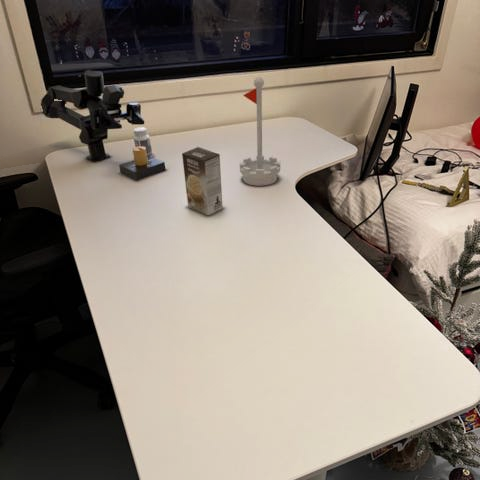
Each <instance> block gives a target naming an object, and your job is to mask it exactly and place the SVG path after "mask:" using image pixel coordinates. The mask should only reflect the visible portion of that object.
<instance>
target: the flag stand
mask: <svg viewBox="0 0 480 480" xmlns="http://www.w3.org/2000/svg"><path fill="white" fill-rule="evenodd" d="M264 85H265V81H264V78H262V77H261V76H258V77H256V78H255V79H254V81H253V86H254V87H255V88H254V89H252V90H249V91H248V92H246V93H244V94H243V95H242V96H243V97H245V98H246V99H248V100H249V101H250V102H252V103H254V104H255V105H256V148H257V149H256V151H257V152H256V153H257V154H256V155H255V159H252V158H251V157H250V156H247V157H245V158H243V161H239V173H240V174H241V175H242V177H243V178H242V180H243V182H244V183H245V184H247V185H250V186H258V187H261V186H268V185H272V184H275V182H276V181H278V174H279V173H280V172H281V160H278V159H277V157H274V156H269V158H265V155H263V97H262V96H263V93H262V92H263V91H262V88H263V86H264Z"/></svg>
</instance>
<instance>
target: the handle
mask: <svg viewBox="0 0 480 480" xmlns="http://www.w3.org/2000/svg"><path fill="white" fill-rule="evenodd" d="M132 154H133V160H135V164H136V165H139V166H141V165H146V164H148V159H147V153H146V147H143V146H138V147H135V146H134V147H132Z"/></svg>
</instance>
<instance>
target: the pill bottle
mask: <svg viewBox="0 0 480 480" xmlns="http://www.w3.org/2000/svg"><path fill="white" fill-rule="evenodd" d="M133 134H134V136H133V142H134V148H135V147H138V146H143V147H146V153H147V156H151V157H153V149H152V143H151V138H150V135H149V134H148V129H147V127H144V126H140V127H135V128H134V129H133Z"/></svg>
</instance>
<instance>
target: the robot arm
mask: <svg viewBox="0 0 480 480" xmlns="http://www.w3.org/2000/svg"><path fill="white" fill-rule="evenodd" d="M83 74H84V81H85V87H86V88H82V89H75V88H70V87H65V86H63V85H59V84H58V85H55V86H51V87H49V88H47V91H46V93H45V95H44V96H43V97H42V98H41V100H40V105H41V106H42V109H43V112H41V113H42V114H43V116H44V117H46V118H49V119H59V120H61V121H63V122H65V123H67V124H69V125H71V126H73V127H75V128H77V129H78V130H80V132H79V135H78V136H79V137H78V138H79V140H80V143H81V144H84V145H87V149H88V153H89V154H88V155H87V156H86V159H88V160H90V161H93V162H99V161H102V160H105V159H108V158H111V155H109V154H107V153H106V149H105V145H104V140H108V137H109V135H108V131H109V130H120V129H122V128H123V125H122V124H121V121H127V123H129V124H131V125H132V126H133V125H134V126H135V125H136V126H137V125H138V126H141V125H145V120H144V118H143V117H142V116H141V115H142V114H141V112H142V111H141V110H142V105H141V104H140V103H139V102H129V103H127V104H126V106H125V111H122V109H121V108H122V103H121V102H120V101H121V99H123V98H124V96H125V90H124V89H123V87H122V86H119V85H116V84H112V85H106V86H105V82H104V76H103V75H104V73H103V72H102V71H100V70H90V69H87V70H84V71H83ZM54 99H58V100H62V101H54ZM67 103H71V104H73V107H74V108H76V109H78V110H80V111H81V110H85V109H87V110H88V113H89V115H83V114H81V113H79V112H77V111H75V110H73V109H72V108H69V107H67V106H66V107H65V104H66V105H67Z"/></svg>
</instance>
